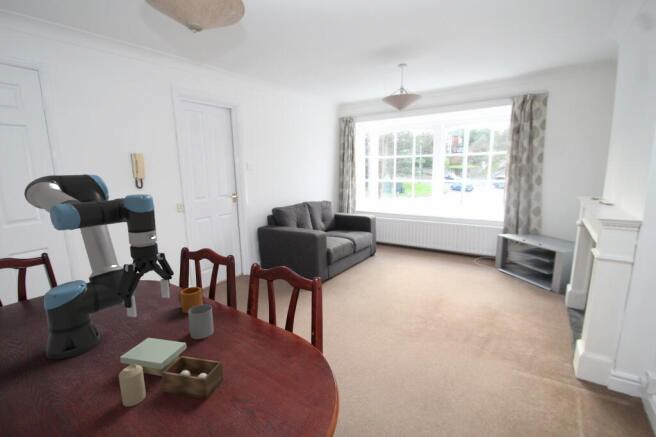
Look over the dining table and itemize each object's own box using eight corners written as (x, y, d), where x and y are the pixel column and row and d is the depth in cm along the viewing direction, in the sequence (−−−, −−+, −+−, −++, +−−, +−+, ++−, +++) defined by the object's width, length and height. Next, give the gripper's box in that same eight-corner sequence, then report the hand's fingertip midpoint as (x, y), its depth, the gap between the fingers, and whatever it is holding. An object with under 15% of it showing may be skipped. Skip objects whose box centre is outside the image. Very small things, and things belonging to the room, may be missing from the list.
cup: (205, 340, 113) (203, 315, 111) (185, 338, 114) (183, 313, 113) (217, 328, 121) (215, 305, 119) (199, 326, 123) (197, 303, 121)
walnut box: (164, 391, 87) (162, 372, 86) (183, 373, 95) (181, 355, 94) (206, 399, 84) (205, 379, 83) (223, 379, 91) (221, 361, 90)
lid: (120, 362, 94) (120, 356, 93) (149, 343, 104) (148, 337, 104) (161, 369, 90) (160, 363, 90) (186, 348, 101) (186, 342, 101)
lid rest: (131, 370, 96) (130, 359, 95) (149, 357, 103) (148, 346, 102) (163, 376, 93) (162, 364, 93) (179, 362, 100) (178, 351, 99)
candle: (129, 392, 87) (125, 361, 85) (149, 391, 87) (145, 360, 85) (118, 407, 81) (113, 374, 80) (139, 406, 82) (135, 372, 80)
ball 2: (194, 387, 87) (193, 377, 87) (201, 379, 90) (200, 369, 90) (204, 388, 86) (203, 378, 86) (211, 381, 89) (210, 371, 89)
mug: (190, 301, 146) (189, 284, 145) (207, 307, 140) (206, 289, 139) (173, 308, 139) (172, 290, 137) (189, 315, 132) (188, 295, 131)
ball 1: (176, 383, 88) (175, 374, 88) (184, 376, 92) (183, 367, 91) (186, 385, 88) (185, 375, 87) (193, 378, 91) (192, 368, 90)
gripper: (117, 256, 82) (125, 327, 86) (181, 235, 106) (186, 292, 110) (95, 253, 84) (105, 323, 88) (164, 234, 108) (169, 289, 112)
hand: (150, 306), depth 99 cm, fingers open, 13 cm apart
